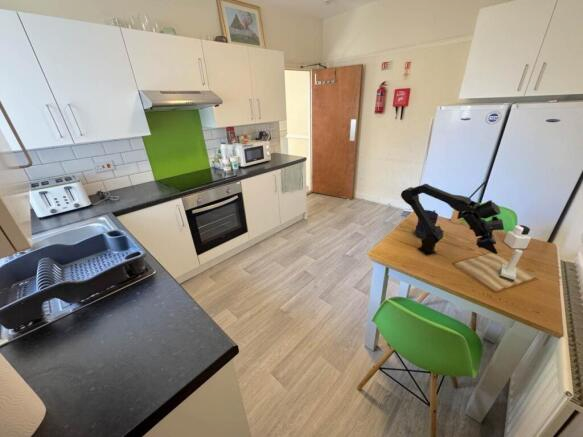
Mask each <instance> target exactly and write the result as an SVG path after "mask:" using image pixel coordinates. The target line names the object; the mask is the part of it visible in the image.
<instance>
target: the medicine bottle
mask: <svg viewBox="0 0 583 437" xmlns="http://www.w3.org/2000/svg"><path fill="white" fill-rule="evenodd" d="M530 231H531V228H530V227H529V226H526V225H523V224H517V225H514V228H513V230H512V231H510V230H509V231H507V233H506V235H505V238H504V240H503V242H504V243H505V244H506V245H507V246H508V247H510V248H511V249H518V250H522V249H523V250H525V249H527V247H528V246H529V243H530V242H531V239H532V237H531V236H529V233H530Z"/></svg>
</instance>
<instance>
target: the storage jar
mask: <svg viewBox="0 0 583 437" xmlns="http://www.w3.org/2000/svg"><path fill="white" fill-rule="evenodd" d="M424 210H425V211H426V213H427V215H428V216H429V218H430V220H431V221H432V223H433V224H434V225H435V226H436V225H437V222H438V218H439V214H438V212H436V210H435V209H433V210H430V209H424ZM414 236H415V237H416V238H418V239H420V240H421V239H423V238H424V237H425V236H426V235H425V229H424V227H423V225H422V224H421V222H420V220H419V219H418V218H417V224H416V226H415V230H414Z"/></svg>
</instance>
